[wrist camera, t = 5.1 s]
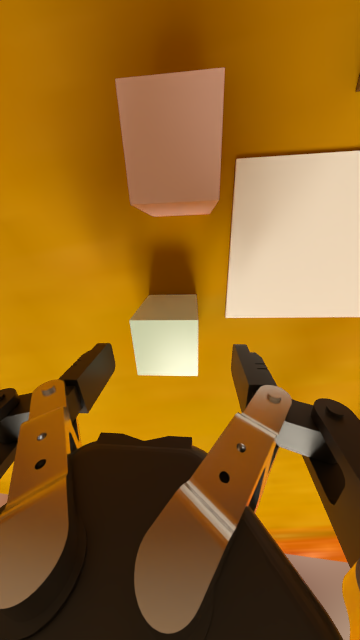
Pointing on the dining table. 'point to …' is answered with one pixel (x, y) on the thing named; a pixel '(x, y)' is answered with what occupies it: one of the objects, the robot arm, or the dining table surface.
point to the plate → (295, 237)
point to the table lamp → (358, 85)
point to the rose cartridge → (173, 140)
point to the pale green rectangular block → (166, 335)
